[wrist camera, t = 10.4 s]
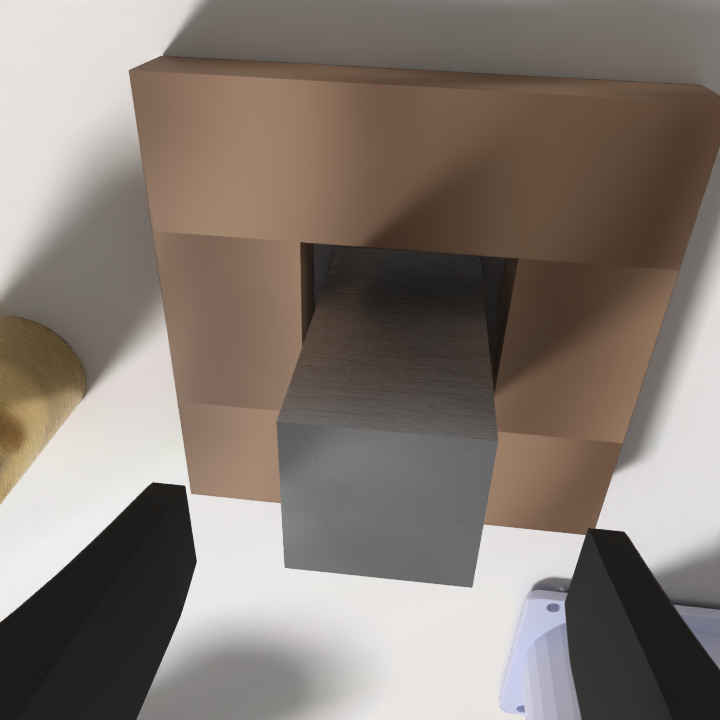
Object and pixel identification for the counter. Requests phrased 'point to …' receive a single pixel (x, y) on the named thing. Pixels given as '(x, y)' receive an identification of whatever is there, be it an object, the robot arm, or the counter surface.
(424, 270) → the square bit
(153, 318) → the counter surface
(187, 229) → the frame
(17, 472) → the round bit
